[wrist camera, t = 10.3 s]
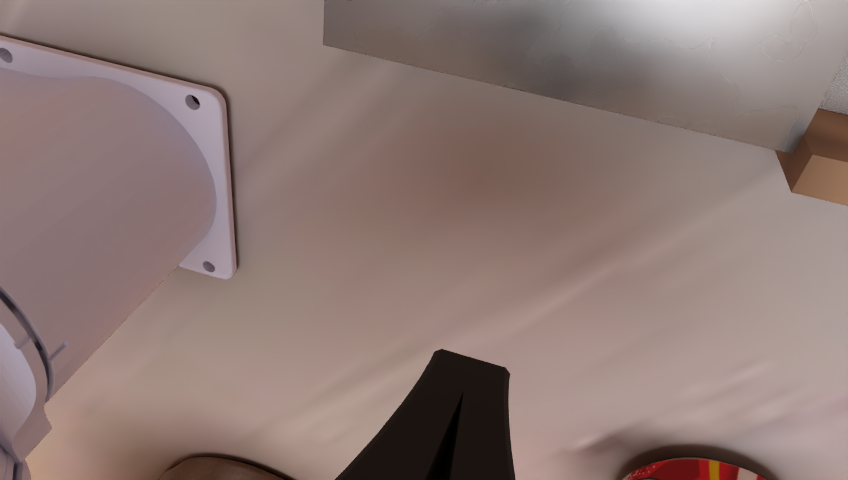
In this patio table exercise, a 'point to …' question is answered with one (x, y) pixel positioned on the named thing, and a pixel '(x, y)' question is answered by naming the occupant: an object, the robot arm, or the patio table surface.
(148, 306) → the patio table surface
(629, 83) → the grey plate
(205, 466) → the plant pot
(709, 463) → the soda can
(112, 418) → the patio table surface
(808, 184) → the box
